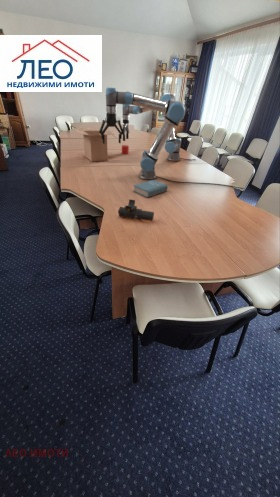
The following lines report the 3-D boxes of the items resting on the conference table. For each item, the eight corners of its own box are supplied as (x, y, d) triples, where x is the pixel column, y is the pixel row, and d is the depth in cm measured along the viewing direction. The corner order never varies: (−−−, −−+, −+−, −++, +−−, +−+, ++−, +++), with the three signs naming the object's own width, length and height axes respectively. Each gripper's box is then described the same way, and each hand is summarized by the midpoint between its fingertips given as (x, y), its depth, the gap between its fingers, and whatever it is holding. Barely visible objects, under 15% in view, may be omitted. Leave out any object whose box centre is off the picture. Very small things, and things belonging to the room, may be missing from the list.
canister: (124, 152, 277) (124, 144, 271) (129, 153, 273) (130, 146, 268) (120, 153, 271) (120, 145, 266) (125, 154, 267) (126, 147, 262)
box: (118, 161, 240) (118, 134, 224) (86, 164, 225) (83, 135, 209) (104, 152, 270) (103, 127, 254) (74, 153, 255) (72, 127, 239)
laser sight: (151, 224, 136) (153, 209, 130) (116, 219, 138) (116, 204, 132) (153, 217, 143) (155, 203, 137) (120, 212, 146) (120, 198, 140)
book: (152, 185, 190) (153, 179, 187) (167, 191, 181) (167, 185, 178) (133, 191, 176) (133, 185, 173) (147, 198, 167) (148, 191, 164)
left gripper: (124, 112, 174) (124, 141, 187) (93, 111, 165) (95, 142, 177) (128, 113, 169) (127, 143, 181) (96, 113, 159) (98, 144, 172)
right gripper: (125, 118, 261) (125, 137, 273) (119, 120, 241) (119, 141, 253) (131, 118, 259) (131, 138, 272) (125, 120, 240) (125, 142, 252)
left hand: (111, 143), depth 179 cm, fingers open, 13 cm apart
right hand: (125, 139), depth 263 cm, fingers open, 13 cm apart
